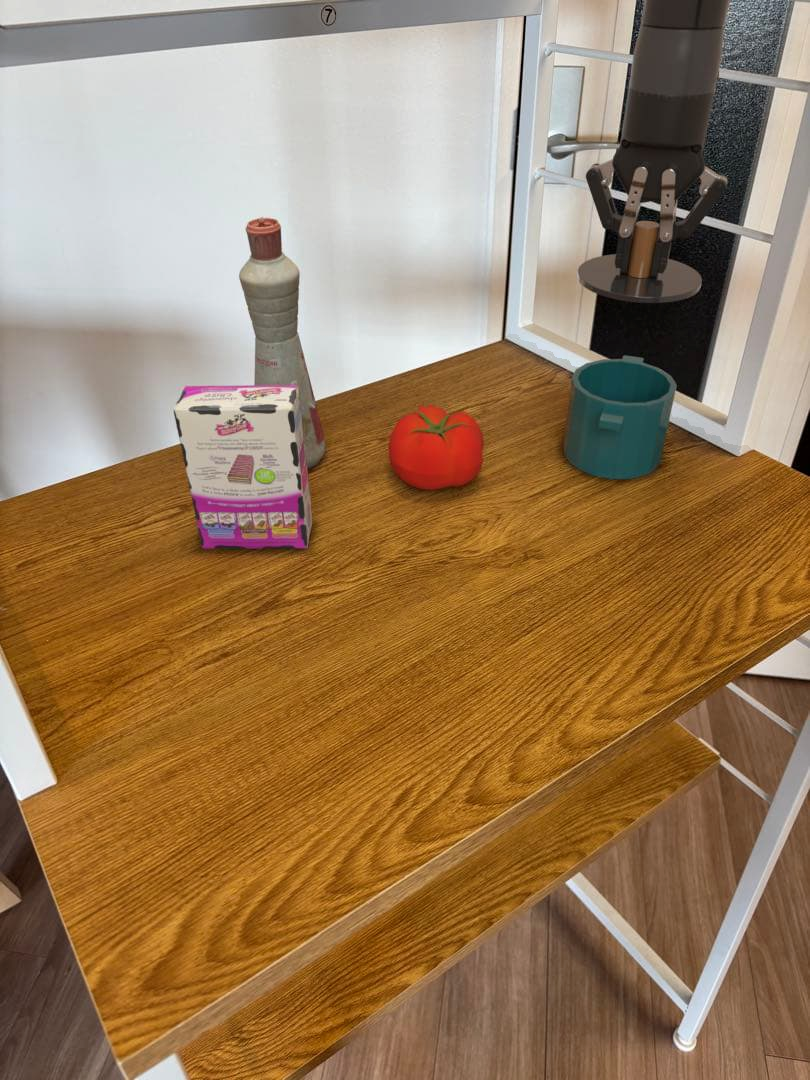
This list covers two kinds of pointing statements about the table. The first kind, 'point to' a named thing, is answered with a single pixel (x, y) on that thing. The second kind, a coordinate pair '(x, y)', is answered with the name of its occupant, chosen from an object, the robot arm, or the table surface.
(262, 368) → the bottle
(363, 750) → the table surface
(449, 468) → the tomato
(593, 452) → the pot
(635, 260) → the lid
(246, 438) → the candy bar box
